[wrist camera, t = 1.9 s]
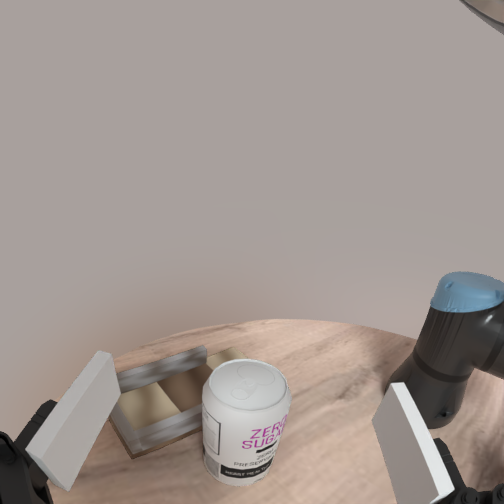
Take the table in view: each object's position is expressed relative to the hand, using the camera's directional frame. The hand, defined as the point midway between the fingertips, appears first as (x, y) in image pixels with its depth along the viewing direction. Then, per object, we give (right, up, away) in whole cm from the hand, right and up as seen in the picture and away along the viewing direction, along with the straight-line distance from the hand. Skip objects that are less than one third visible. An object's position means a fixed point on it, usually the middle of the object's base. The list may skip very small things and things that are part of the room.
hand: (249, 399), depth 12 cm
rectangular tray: (-9, -15, +27) cm, 32 cm away
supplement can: (-2, -19, +16) cm, 25 cm away
